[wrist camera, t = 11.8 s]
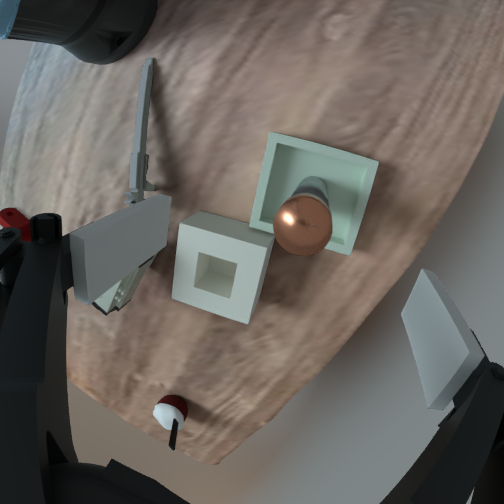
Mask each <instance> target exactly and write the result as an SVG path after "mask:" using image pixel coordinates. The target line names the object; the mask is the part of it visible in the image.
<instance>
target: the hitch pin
mask: <svg viewBox="0 0 504 504" xmlns="http://www.w3.org/2000/svg"><path fill="white" fill-rule="evenodd" d="M332 230H333V225H332V214H331V211H330V209H329V191H328V186H327V184H326V183H325V182H324V180H322V179H321V178H319V177H316V176H309V177H306V178H304V179H303V180H302V181H301V182H300V183H299V185H298V186H297V188H296V189H295V191H294V192H293V194H292V195H291V197H290V198H288V199H287V200H286V201H285V202H284V203H283V204H282V206H281V207H280V208H279V210H278V211H277V213H276V215H275V218H274V222H273V231H274V235H275V238H276V240H277V242H278V243H279V244H280V245H281V247H282V248H284V249H285V250H286V251H288V252H289V253H291V254H294V255H298V256H309V255H313V254H316V253H318V252H320V251H321V250H322V249H324V248H325V247H326V245H327V244H328V243H329V241H330V239H331V236H332Z"/></svg>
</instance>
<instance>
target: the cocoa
mask: <svg viewBox="0 0 504 504" xmlns="http://www.w3.org/2000/svg"><path fill="white" fill-rule="evenodd" d="M187 413H188V408H187V404H186V403H185V401H184V400H183V399H181V398H180V397H178V396H175V395H167V396H164V397H163V398H162V399H161V400H160V401H159V402H158V403H157V405H155V409H154V411H153V415H154V416H155V418H156V419H157V420H158V421H159V423H160V424H161V425H162V426H163V427H164V428H165V429H167V430H171V435H170V440H169V447H170V448H171V449H172V450H175V444H176V437H177V431H178V430H181V428H182V427H183V425H184V421H185V419H186V417H187Z"/></svg>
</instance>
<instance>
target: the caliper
mask: <svg viewBox="0 0 504 504" xmlns="http://www.w3.org/2000/svg"><path fill="white" fill-rule="evenodd" d="M153 59H154V58H148V59H146V61H145V65H143V67H142V73H141V80H140V87H139V95H138V104H137V113H136V123H135V135H134V148H133V153H131V164H130V184H129V188H130V189H131V192H124V193H125V194H126V195H127V196H128V197H131V198H129V199H127V200H126V201H125V202H124V203H129V206H131V205H133V204H136V203H138V202H141V201H143V200H145V199H143V197H144V191H156V189H155V186H153V185H152V184H151V183H149V182H148V181H146V174H147V170H148V159H149V155H147V154H146V139H147V126H148V115H149V105H150V97H151V88H152V81H153Z"/></svg>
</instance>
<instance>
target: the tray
mask: <svg viewBox="0 0 504 504" xmlns="http://www.w3.org/2000/svg"><path fill="white" fill-rule="evenodd" d="M378 164H379V162H378V161H375V160H372V159H369V158H366V157H363V156H359V155H356V154H353V153H350V152H346V151H343V150H340V149H336V148H333V147H329V146H326V145H322V144H318V143H315V142H311V141H307V140H303V139H299V138H295V137H291V136H287V135H283V134H278V133H274V132H270V133H269V137H268V142H267V146H266V151H265V155H264V160H263V164H262V169H261V173H260V178H259V182H258V187H257V191H256V196H255V200H254V205H253V210H252V214H251V219H250V223H249V227H252V228H256V229H259V230H263V231H266V232H270V233H273V234H274V231H273V222H274V218H275V215H276V213H277V211H278V210H279V208H280V207H281V206H282V204H283V203H284V202H285V201H286V200H287V199H288V198H290V197H291V195H292V194H293V192H294V191H295V189H296V188H297V186H298V185H299V183H300V182H301V181H302V180H303V179H304V178H306V177H309V176H316V177H319V178H321V179H322V180H324V182H325V183H326V184H327V186H328V191H329V209H330V211H331V214H332V225H333V230H332V236H331V239H330V241H329V243H328V244H327V245H326V247H325V249H328V250H332V251H335V252H339V253H342V254H345V255H349V256H350V254H351V251H352V248H353V245H354V243H355V240H356V237H357V234H358V231H359V227H360V224H361V221H362V218H363V215H364V212H365V209H366V205H367V202H368V199H369V195H370V192H371V189H372V185H373V182H374V178H375V175H376V171H377V167H378Z"/></svg>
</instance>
